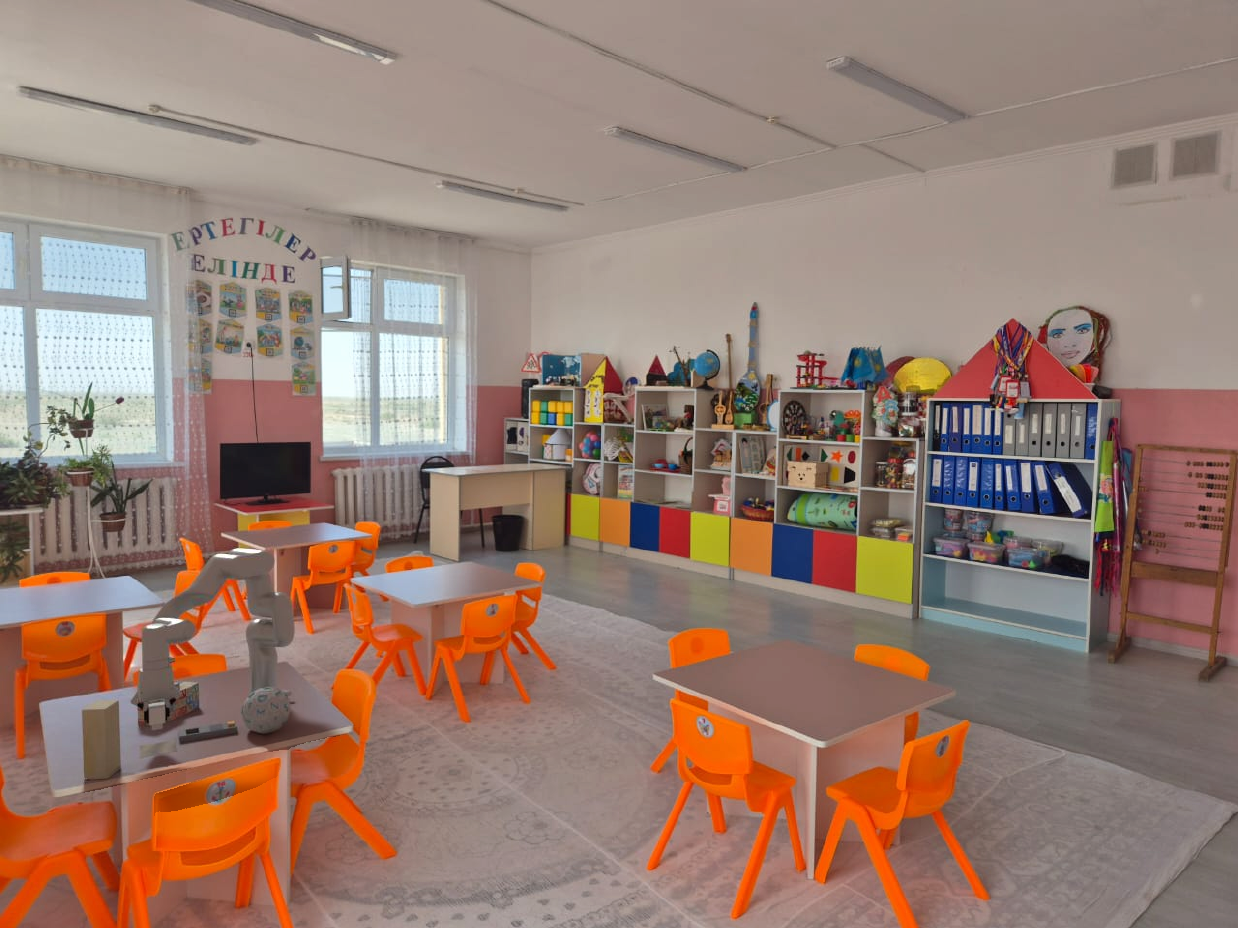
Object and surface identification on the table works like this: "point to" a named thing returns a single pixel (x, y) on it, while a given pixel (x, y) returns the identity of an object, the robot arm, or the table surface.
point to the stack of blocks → (177, 702)
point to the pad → (158, 748)
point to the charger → (157, 715)
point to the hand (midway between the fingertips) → (156, 719)
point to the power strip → (207, 731)
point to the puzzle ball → (266, 710)
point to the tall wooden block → (101, 739)
